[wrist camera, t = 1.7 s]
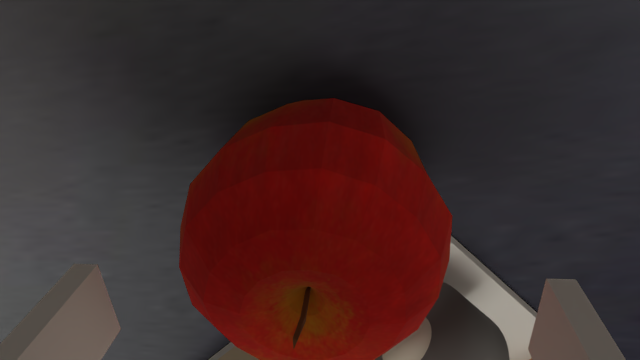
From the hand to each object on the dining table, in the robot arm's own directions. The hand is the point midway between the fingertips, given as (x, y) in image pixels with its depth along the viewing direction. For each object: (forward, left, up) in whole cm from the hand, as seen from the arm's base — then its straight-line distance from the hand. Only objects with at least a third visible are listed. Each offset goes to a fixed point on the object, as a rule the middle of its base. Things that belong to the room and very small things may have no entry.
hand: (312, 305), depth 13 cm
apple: (0, 0, -10) cm, 10 cm away
